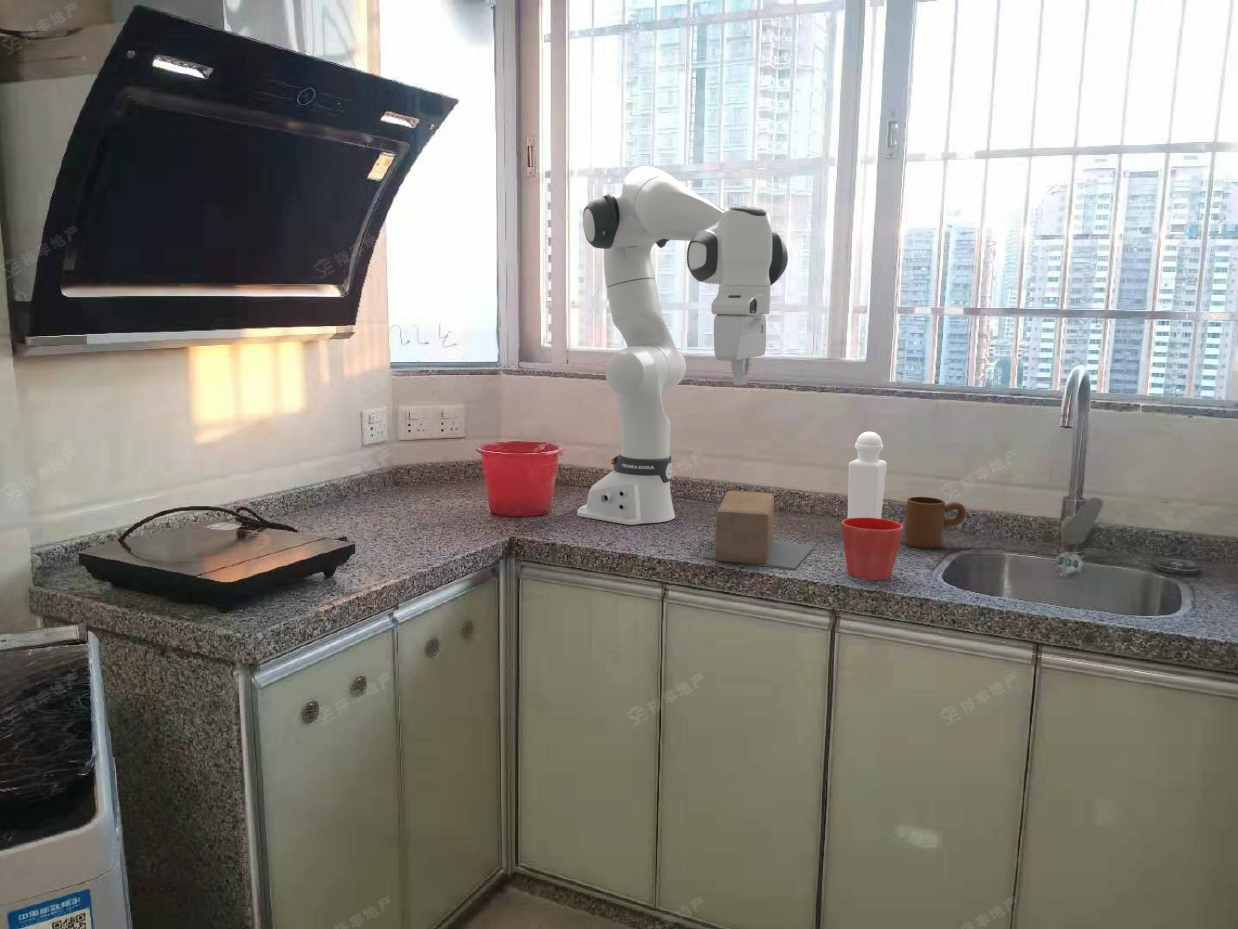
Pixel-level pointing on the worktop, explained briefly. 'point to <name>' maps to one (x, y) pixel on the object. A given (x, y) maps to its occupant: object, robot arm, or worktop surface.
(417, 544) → the worktop surface
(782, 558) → the rubber mat
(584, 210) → the robot arm
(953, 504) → the mug
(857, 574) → the flower pot
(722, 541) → the wooden block
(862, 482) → the white bottle
